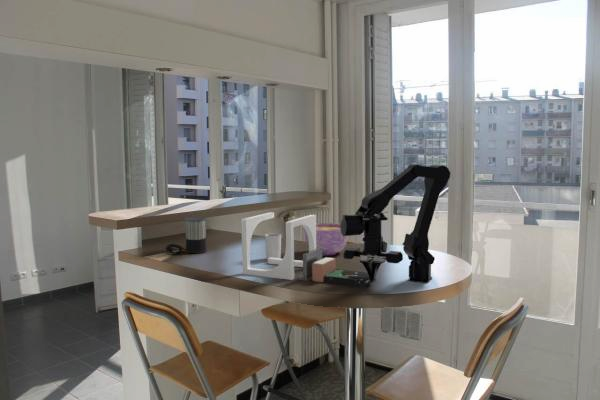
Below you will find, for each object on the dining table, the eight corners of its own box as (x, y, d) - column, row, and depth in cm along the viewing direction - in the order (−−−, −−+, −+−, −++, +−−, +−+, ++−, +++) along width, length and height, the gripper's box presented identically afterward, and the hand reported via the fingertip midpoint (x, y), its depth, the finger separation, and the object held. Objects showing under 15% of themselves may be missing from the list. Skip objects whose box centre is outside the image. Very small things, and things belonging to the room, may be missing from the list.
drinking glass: (275, 256, 212) (274, 232, 210) (284, 259, 206) (284, 234, 205) (262, 258, 207) (261, 234, 206) (271, 261, 202) (271, 236, 201)
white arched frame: (242, 274, 183) (241, 219, 181) (270, 262, 201) (269, 212, 199) (291, 280, 174) (290, 222, 172) (316, 267, 192) (315, 214, 190)
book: (336, 275, 180) (335, 258, 179) (323, 282, 171) (322, 264, 170) (325, 274, 182) (325, 257, 181) (312, 281, 173) (312, 262, 172)
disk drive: (375, 281, 173) (336, 276, 180) (376, 273, 173) (336, 268, 180) (364, 289, 164) (323, 283, 171) (364, 280, 164) (323, 274, 171)
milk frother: (211, 251, 223) (210, 218, 222) (182, 258, 211) (180, 222, 210) (191, 247, 232) (189, 215, 231) (161, 253, 220) (160, 219, 219)
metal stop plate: (322, 273, 183) (322, 248, 182) (307, 280, 173) (306, 254, 172) (313, 271, 185) (313, 247, 184) (297, 279, 174) (297, 253, 173)
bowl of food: (359, 252, 217) (359, 225, 216) (330, 260, 202) (330, 232, 201) (323, 246, 230) (323, 221, 229) (293, 254, 216) (293, 227, 214)
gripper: (407, 232, 169) (407, 278, 170) (355, 228, 177) (355, 272, 179) (397, 237, 159) (397, 286, 161) (342, 233, 168) (342, 280, 169)
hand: (372, 280), depth 168 cm, fingers closed
